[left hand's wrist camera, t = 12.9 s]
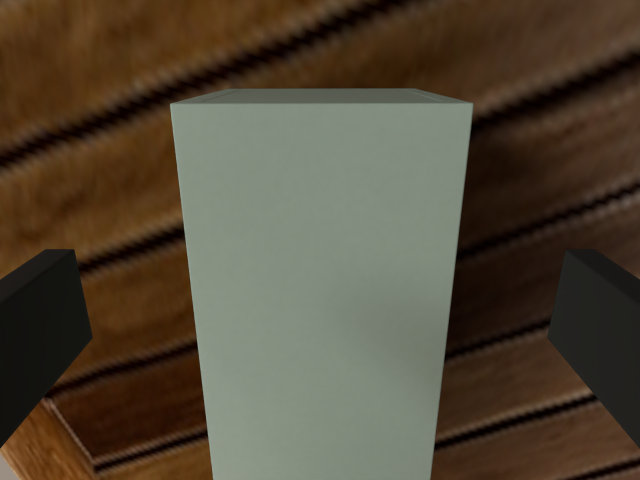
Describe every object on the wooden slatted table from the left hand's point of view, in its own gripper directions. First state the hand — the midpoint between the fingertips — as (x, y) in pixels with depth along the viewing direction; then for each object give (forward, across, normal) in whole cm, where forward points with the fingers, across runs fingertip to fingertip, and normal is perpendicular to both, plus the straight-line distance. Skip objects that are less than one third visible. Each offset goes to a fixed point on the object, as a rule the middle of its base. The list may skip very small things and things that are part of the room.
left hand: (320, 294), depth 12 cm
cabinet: (+18, 0, -6) cm, 19 cm away
